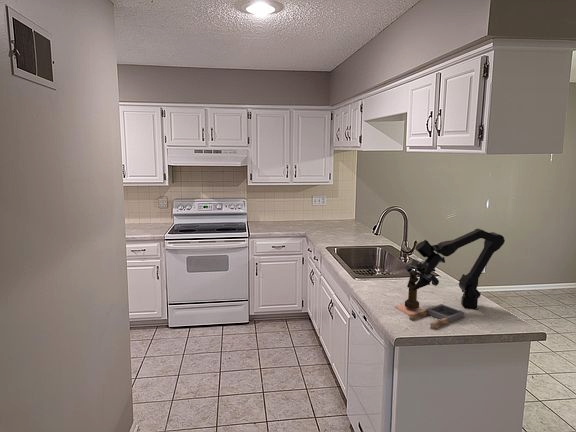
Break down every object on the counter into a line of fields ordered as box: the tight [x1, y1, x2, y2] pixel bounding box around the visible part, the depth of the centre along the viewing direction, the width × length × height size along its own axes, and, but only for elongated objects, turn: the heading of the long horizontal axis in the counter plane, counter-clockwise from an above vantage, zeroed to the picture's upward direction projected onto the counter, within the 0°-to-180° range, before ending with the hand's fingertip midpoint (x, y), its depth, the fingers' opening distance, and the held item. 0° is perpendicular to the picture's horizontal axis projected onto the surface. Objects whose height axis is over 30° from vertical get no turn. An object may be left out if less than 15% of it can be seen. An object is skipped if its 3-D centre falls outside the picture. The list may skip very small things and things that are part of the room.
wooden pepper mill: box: [404, 270, 420, 309], centre depth 198 cm, size 7×6×18 cm
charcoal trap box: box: [426, 303, 465, 324], centre depth 194 cm, size 12×12×2 cm
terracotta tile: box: [394, 304, 425, 316], centre depth 200 cm, size 11×11×1 cm
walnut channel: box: [408, 308, 449, 330], centre depth 187 cm, size 11×12×2 cm
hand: (410, 288), depth 198 cm, fingers closed on wooden pepper mill, 4 cm apart
